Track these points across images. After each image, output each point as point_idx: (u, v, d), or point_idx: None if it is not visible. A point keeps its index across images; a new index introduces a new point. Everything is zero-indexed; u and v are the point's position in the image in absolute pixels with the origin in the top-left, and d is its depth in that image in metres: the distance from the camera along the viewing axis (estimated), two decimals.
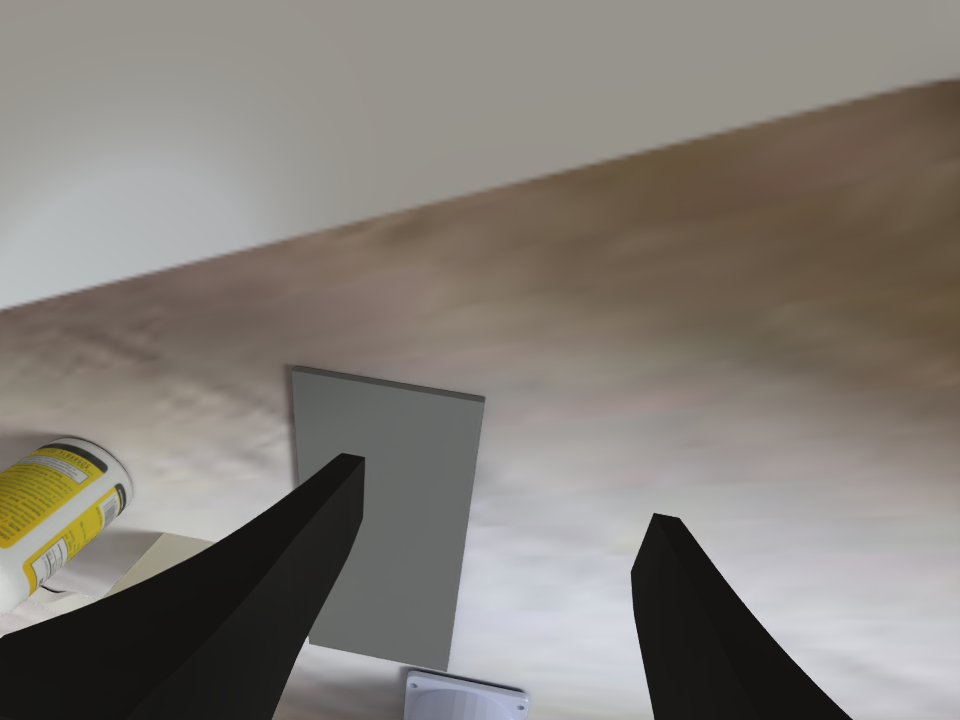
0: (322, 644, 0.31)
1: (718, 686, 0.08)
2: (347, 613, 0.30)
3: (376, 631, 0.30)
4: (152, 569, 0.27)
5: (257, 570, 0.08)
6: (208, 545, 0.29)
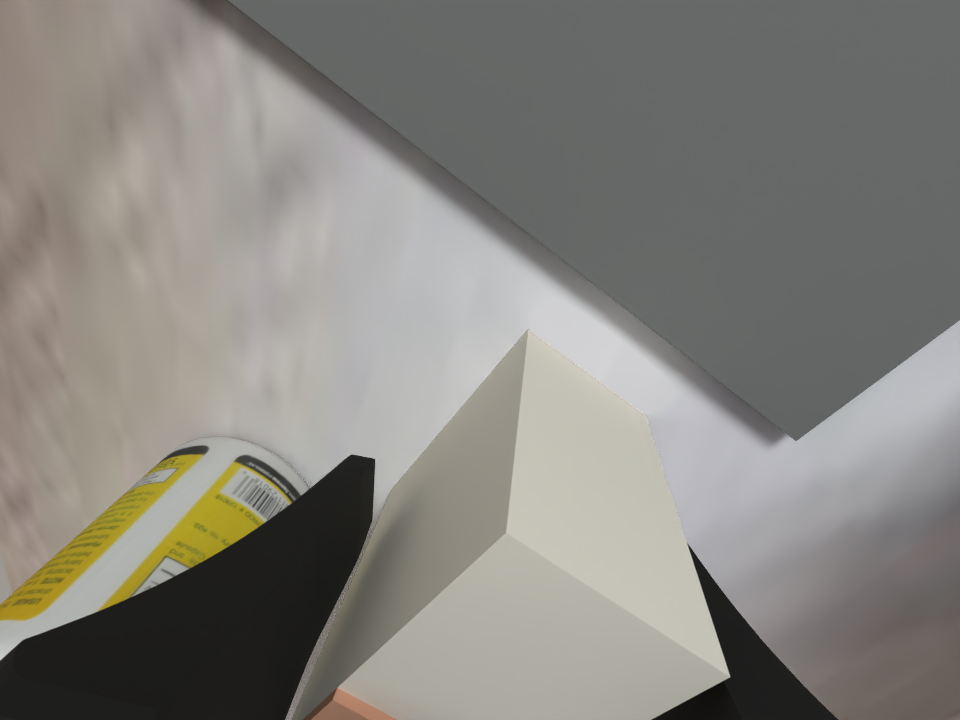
0: (818, 413, 0.12)
1: None
2: (776, 275, 0.11)
3: (889, 239, 0.10)
4: (385, 527, 0.13)
5: (272, 574, 0.08)
6: (441, 435, 0.14)
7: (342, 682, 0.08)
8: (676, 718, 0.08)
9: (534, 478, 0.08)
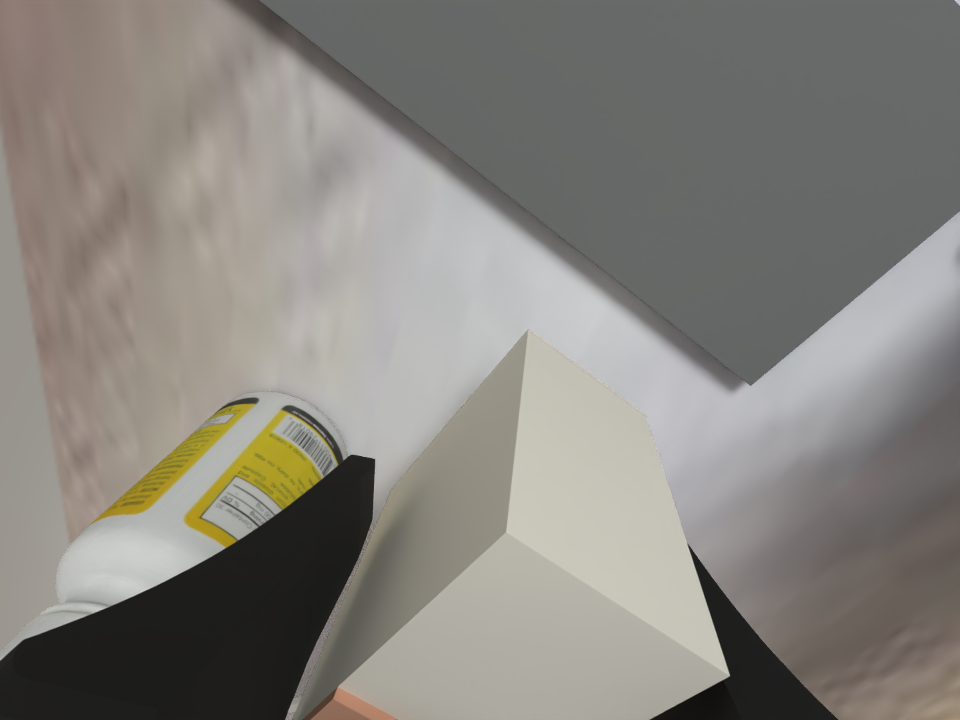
0: (768, 362, 0.15)
1: None
2: (729, 245, 0.13)
3: (816, 216, 0.13)
4: (385, 527, 0.13)
5: (272, 573, 0.08)
6: (441, 435, 0.14)
7: (342, 681, 0.08)
8: (676, 718, 0.08)
9: (534, 478, 0.08)
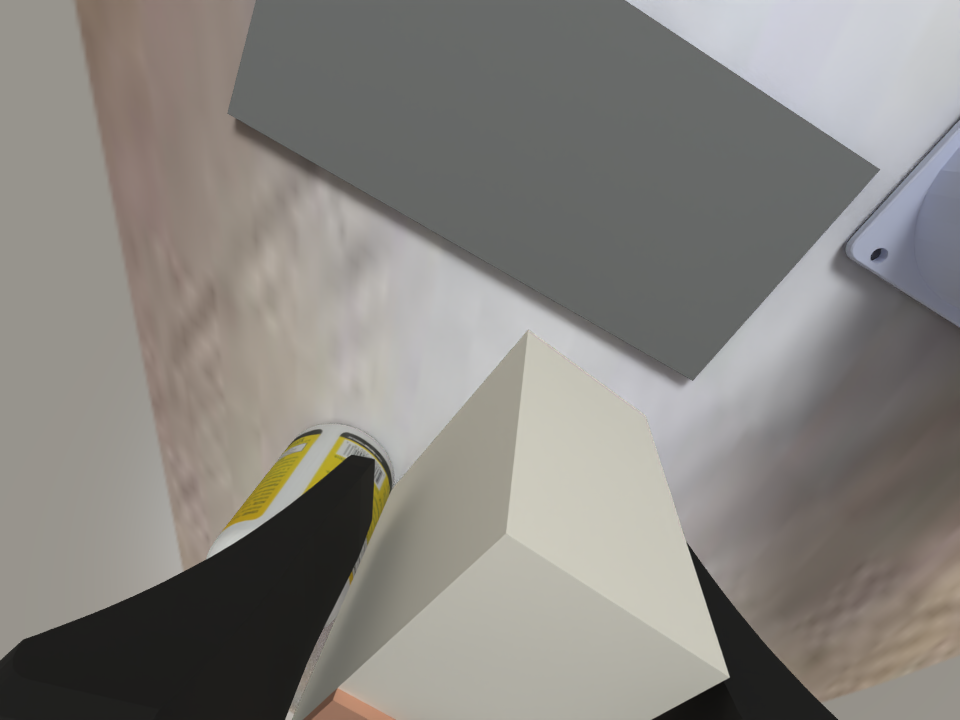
0: (702, 361, 0.19)
1: None
2: (655, 280, 0.18)
3: (715, 253, 0.17)
4: (385, 528, 0.13)
5: (272, 573, 0.08)
6: (440, 436, 0.14)
7: (342, 682, 0.08)
8: (676, 718, 0.08)
9: (534, 479, 0.08)
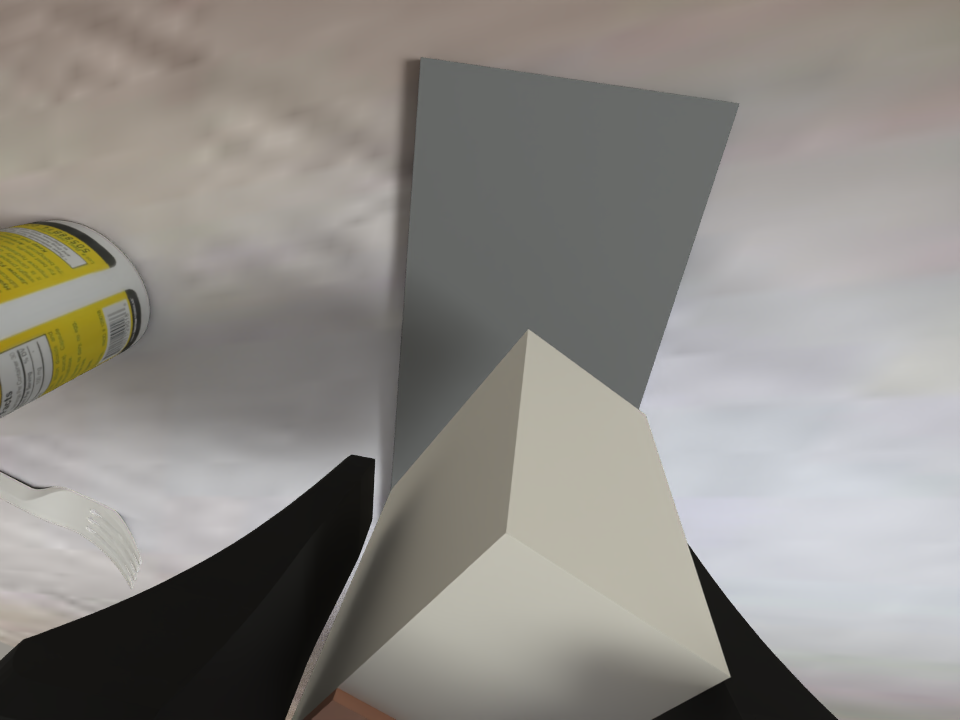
0: None
1: None
2: None
3: None
4: (385, 527, 0.13)
5: (272, 574, 0.08)
6: (440, 435, 0.14)
7: (342, 682, 0.08)
8: (676, 718, 0.08)
9: (534, 478, 0.08)
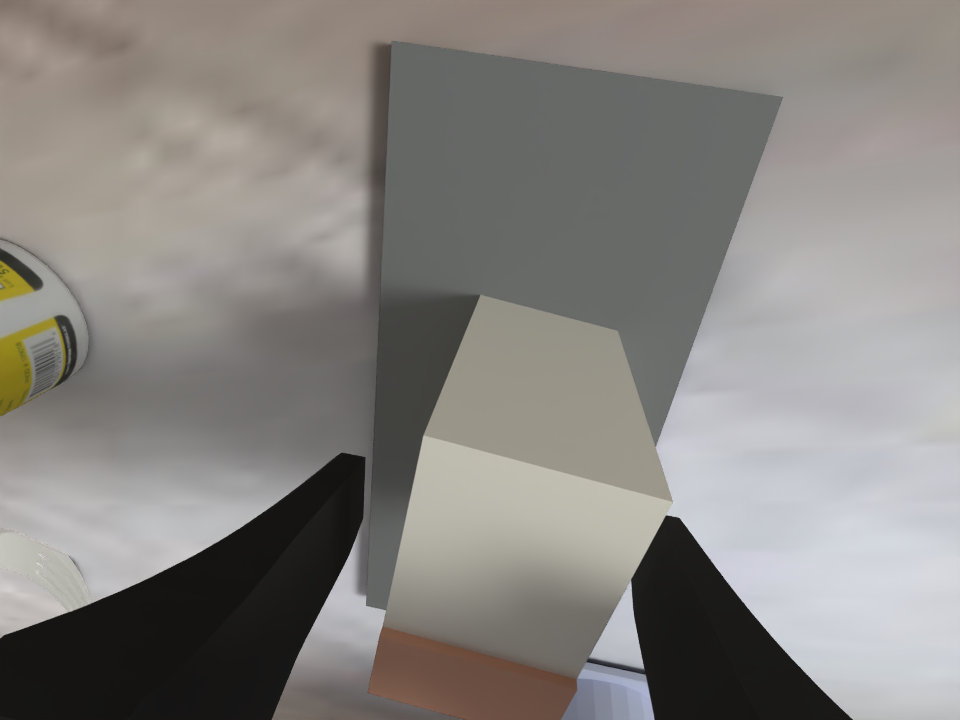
0: (386, 606, 0.20)
1: (718, 686, 0.08)
2: None
3: None
4: None
5: (257, 570, 0.08)
6: None
7: (384, 620, 0.10)
8: None
9: (464, 396, 0.09)
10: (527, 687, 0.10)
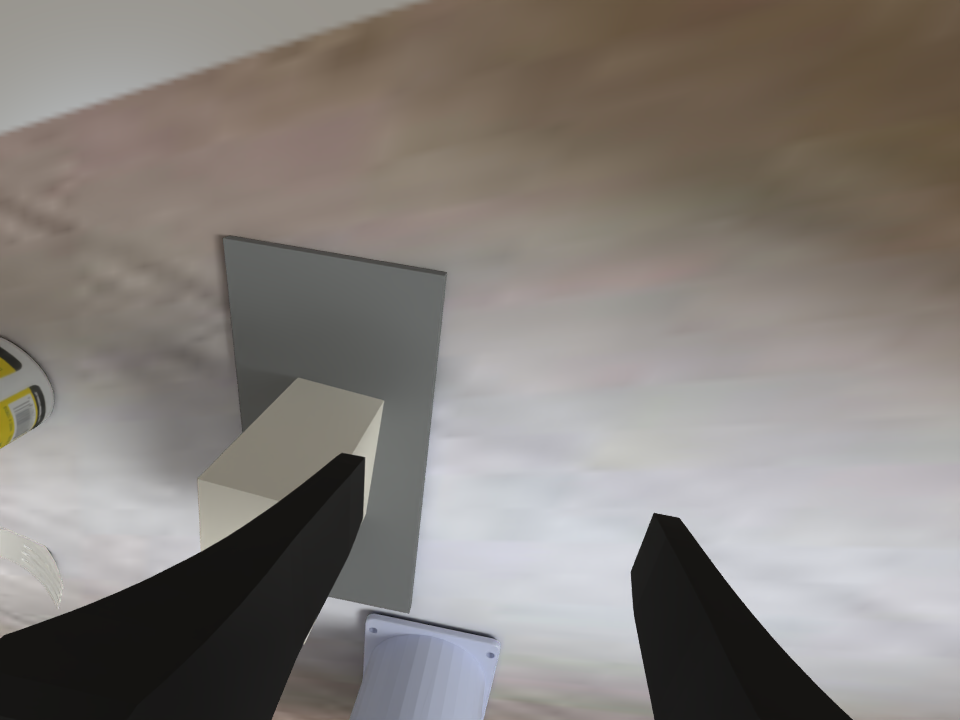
0: None
1: (718, 686, 0.08)
2: None
3: None
4: None
5: (257, 570, 0.08)
6: None
7: None
8: None
9: (235, 455, 0.17)
10: None
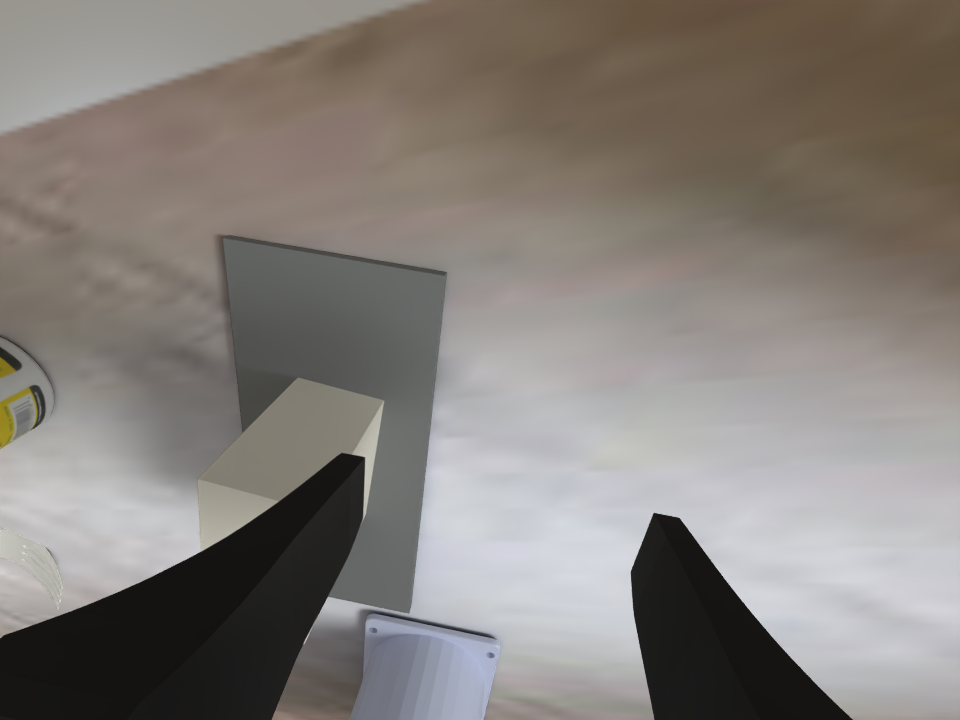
0: None
1: (718, 686, 0.08)
2: None
3: None
4: None
5: (257, 570, 0.08)
6: None
7: None
8: None
9: (235, 455, 0.17)
10: None
